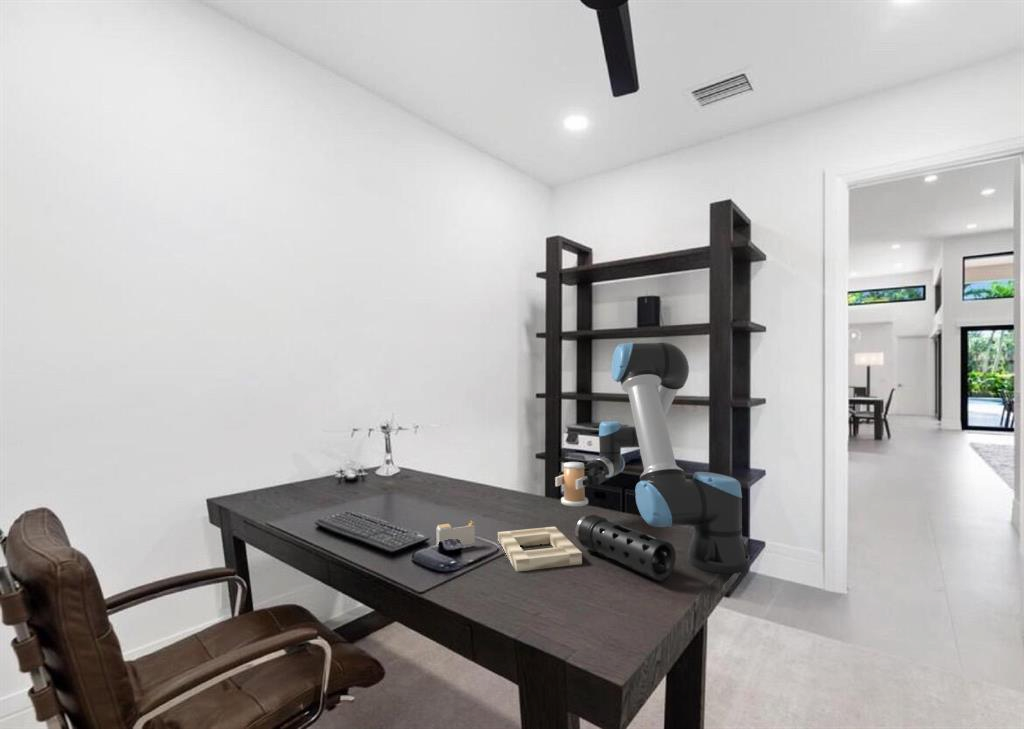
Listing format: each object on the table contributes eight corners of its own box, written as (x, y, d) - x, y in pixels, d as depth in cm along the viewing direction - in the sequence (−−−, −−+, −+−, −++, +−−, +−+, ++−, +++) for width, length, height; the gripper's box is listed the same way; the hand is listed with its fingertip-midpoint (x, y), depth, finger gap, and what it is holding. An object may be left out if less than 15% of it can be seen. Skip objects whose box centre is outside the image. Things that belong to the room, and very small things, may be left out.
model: (436, 550, 144) (436, 524, 144) (471, 544, 148) (471, 519, 148) (439, 554, 141) (439, 527, 141) (475, 548, 145) (474, 522, 145)
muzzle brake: (650, 589, 117) (650, 545, 117) (573, 552, 140) (572, 515, 140) (677, 579, 122) (676, 537, 122) (598, 545, 146) (597, 510, 146)
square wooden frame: (581, 563, 132) (581, 552, 132) (516, 571, 127) (516, 560, 127) (554, 536, 153) (554, 526, 153) (497, 542, 149) (497, 532, 149)
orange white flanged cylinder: (592, 505, 153) (591, 465, 153) (566, 507, 151) (566, 467, 151) (581, 498, 161) (581, 460, 161) (557, 500, 159) (556, 462, 159)
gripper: (625, 484, 165) (595, 500, 146) (573, 477, 176) (539, 491, 157) (625, 461, 165) (595, 474, 146) (573, 456, 176) (539, 467, 157)
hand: (566, 483), depth 152 cm, fingers closed on orange white flanged cylinder, 6 cm apart
